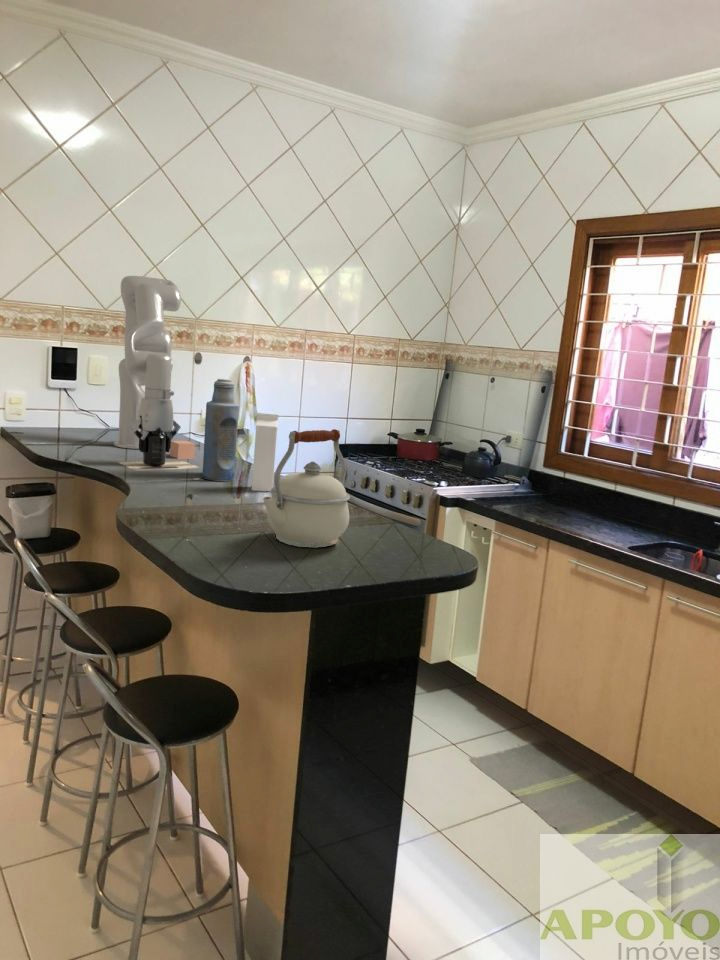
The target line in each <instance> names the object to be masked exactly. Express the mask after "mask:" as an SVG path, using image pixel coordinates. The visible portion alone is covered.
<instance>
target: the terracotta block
mask: <svg viewBox="0 0 720 960" xmlns="http://www.w3.org/2000/svg"><path fill="white" fill-rule="evenodd" d="M195 448H196V443H194V442H192V441H189V440H171V448H170V450H169V456H170V457H172V458H174V459H177V460H184V459H186V460H188V459H195V452H196V450H195Z"/></svg>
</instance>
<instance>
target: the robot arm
mask: <svg viewBox="0 0 720 960" xmlns="http://www.w3.org/2000/svg"><path fill="white" fill-rule="evenodd" d="M121 279H122V280H121V281H120V295H121V299H122V303H123V306H124V309H125V310H124V311H125V321H124V322H125V324H124V358H123V359H122V360H120V362H119V363H118V376H119V377H118V378H119V388H120V389H119V415H118V419H119V420H118V422H119V423H118V435H117V436H118V438H117V439H118V440H116V441H113V446H115V447H117V448H121V449H131V450H132V449H133V450H134V449H135V450H139V452H140V453H142V454H143V453H145V452H146V440H145V437H146V435H147V434H148V432H152V431H156V429H157V428H158V429H159V427H160V428H161V430H162V431H163V434H164V435H165V436H166V453H170V448H171V441H172V440H173V438H174V437H175V436H176V435H177V433H178V432H179V431H180V429H182V428H181V425H180V424H179V423H178V422H176V421H175V420H174V407H173V401H172V399H171V397H173V396H175V391H172V389H171V385H172V382H171V381H172V371H173V366H174V364H173V362H174V361H173V359H172V337H171V334H170V332H169V331H168V330H167V329H165V326H166V325H165V324H166V323H165V317H164V316H165V315H164V311H165V312H177V311H179V310H180V307H181V303H182V298H181V292H180V289H179V287H178V286H177V284H175V283H174V282H173V281H172V280H170V279H164V278H156V277H150V276H149V277H148V276H141V275H126V276H124V277H123V278H121ZM143 386H144V389H142V387H143Z"/></svg>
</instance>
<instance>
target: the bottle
mask: <svg viewBox="0 0 720 960" xmlns="http://www.w3.org/2000/svg"><path fill="white" fill-rule="evenodd" d="M234 391H235V383H234V382H233V381H232V380H231V379H227V378H226V379H225V378H217V379H216V381H214V383H213V393H212V396H211V397H212V398H211V400H210V401H206V403H205V404H206V405H205V420H204V422H205V424H204V439H203V440H204V441H203V456H202V475H201V476H203V477H202V478H203V479H205V480H207V481H208V480H209V481H213V482H229V481H233V480H234V479H235V470H236V462H237V461H236V459H237V458H236V457H237V443H238V428H239V426H238V425H239V412H240V405H239V403H235V402H234V401H235V395H234Z"/></svg>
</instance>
